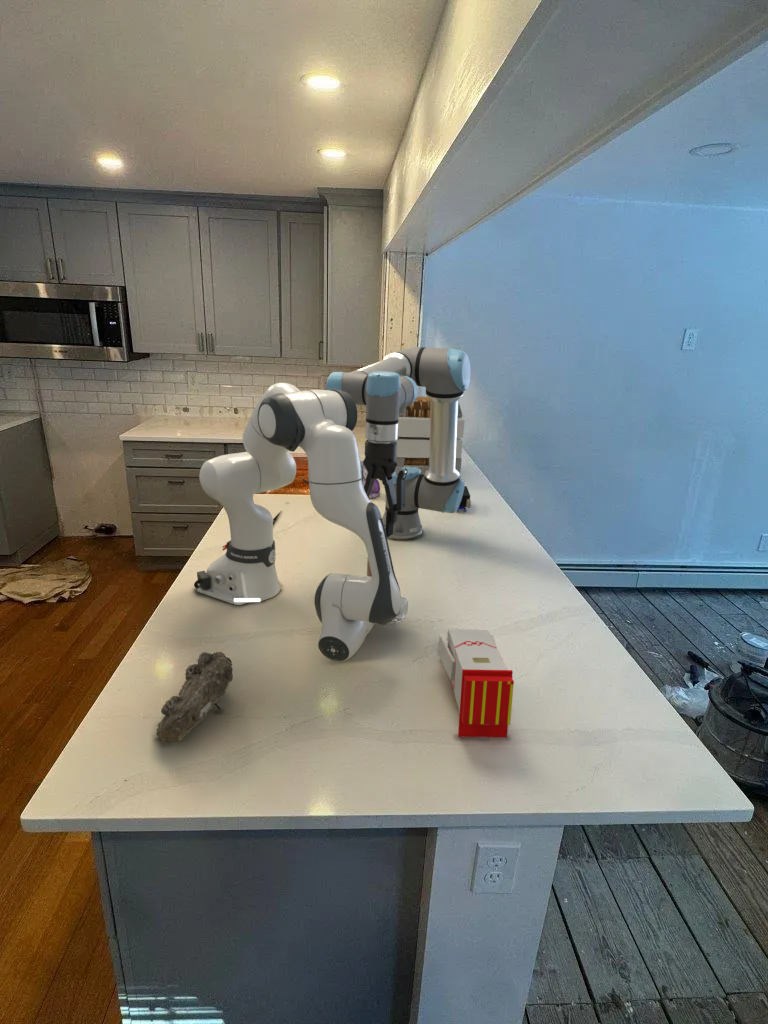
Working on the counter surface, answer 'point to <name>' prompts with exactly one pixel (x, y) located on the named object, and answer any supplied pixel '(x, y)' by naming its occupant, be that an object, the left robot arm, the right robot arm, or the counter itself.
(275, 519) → the feather
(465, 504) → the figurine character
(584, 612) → the counter surface
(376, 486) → the figurine
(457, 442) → the white slatted crate
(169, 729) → the fossil
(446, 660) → the toy
